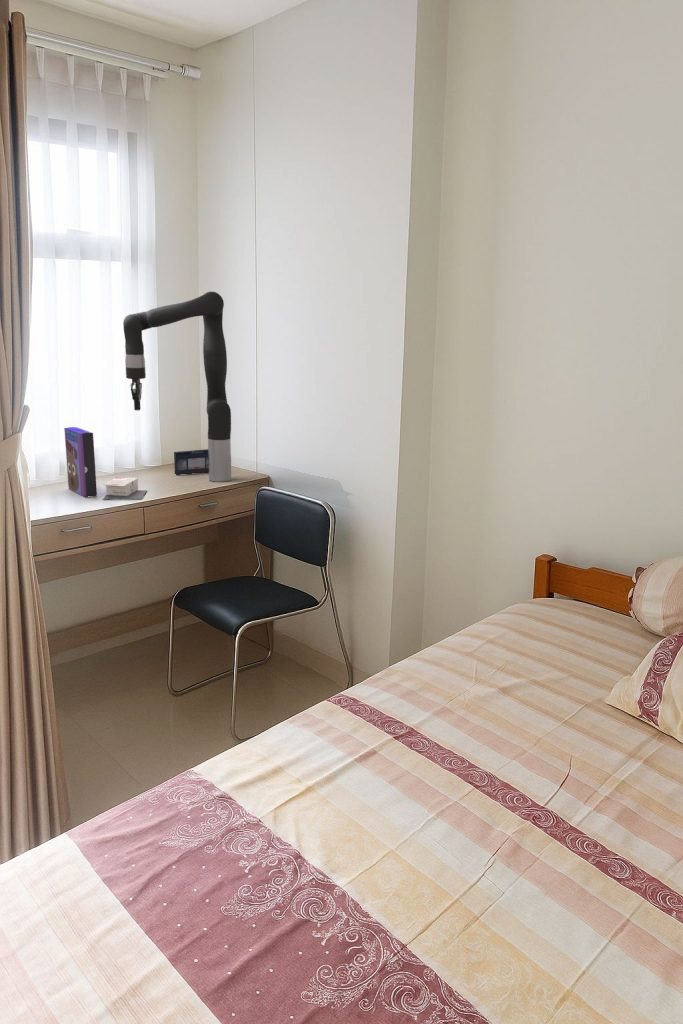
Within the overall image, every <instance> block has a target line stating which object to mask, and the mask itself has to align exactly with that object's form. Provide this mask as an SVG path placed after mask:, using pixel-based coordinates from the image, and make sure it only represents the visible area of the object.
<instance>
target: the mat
mask: <svg viewBox="0 0 683 1024" xmlns="http://www.w3.org/2000/svg"><path fill="white" fill-rule="evenodd" d="M147 492H148V490H147V489H145V490H140V489H138V490H137V491H135V492H134V493H132V494H130V495H129V496H114V495H106V494H105V495H104V497H103V498H102V500H103V499H142V498H143V499H144V497H145V495H146V494H145V493H147ZM143 496H144V497H143ZM143 499H142V500H143Z"/></svg>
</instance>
